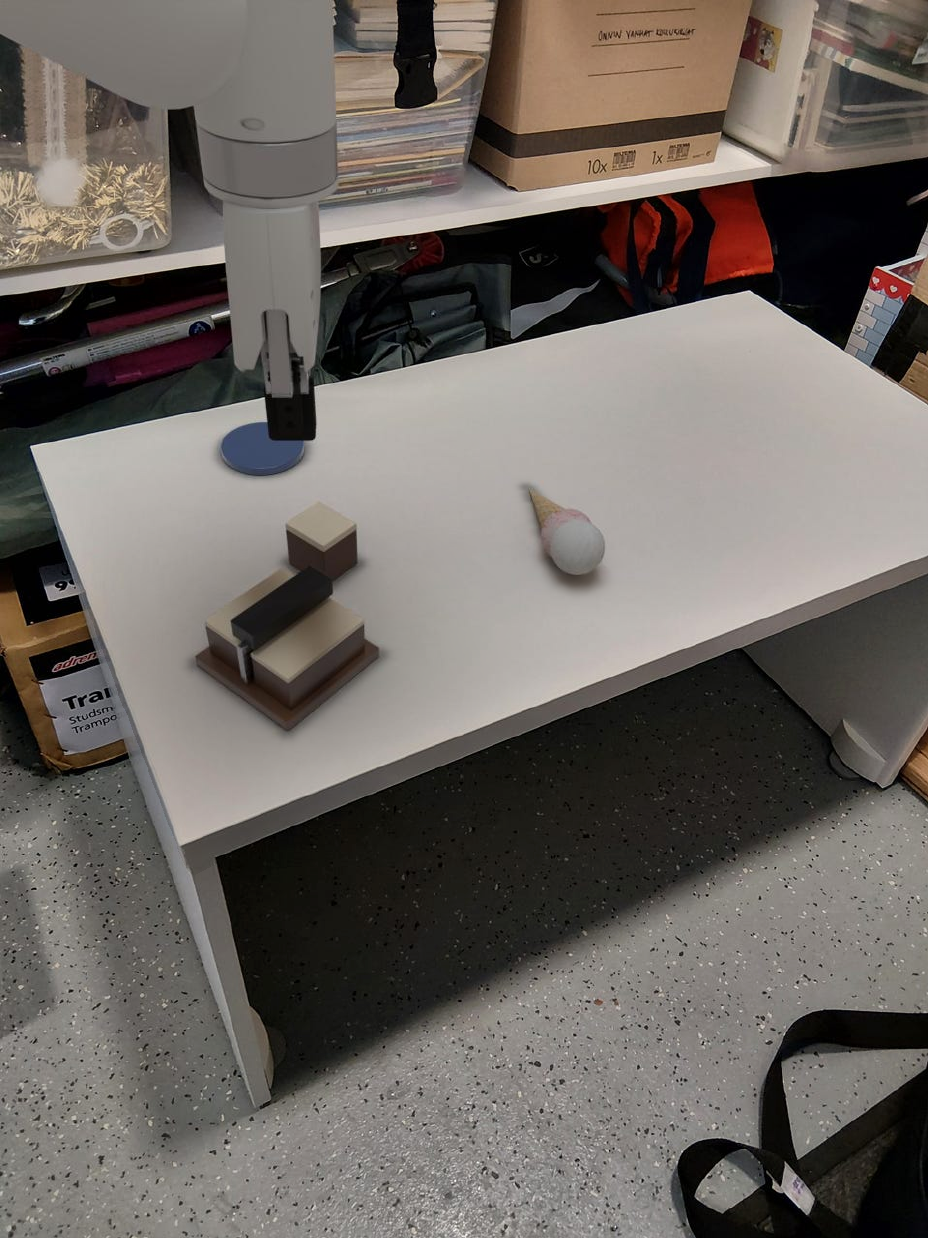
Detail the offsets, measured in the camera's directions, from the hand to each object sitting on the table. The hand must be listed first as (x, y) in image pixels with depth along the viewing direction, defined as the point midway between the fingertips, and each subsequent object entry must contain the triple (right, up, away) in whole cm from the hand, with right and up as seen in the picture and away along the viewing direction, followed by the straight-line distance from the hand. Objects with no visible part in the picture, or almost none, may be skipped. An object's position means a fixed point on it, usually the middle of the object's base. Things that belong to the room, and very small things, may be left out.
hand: (293, 433), depth 65 cm
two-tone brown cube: (0, -8, +16) cm, 18 cm away
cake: (-2, -16, +8) cm, 18 cm away
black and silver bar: (-2, -15, +7) cm, 17 cm away
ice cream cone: (+20, -6, +21) cm, 29 cm away
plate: (-8, +4, +28) cm, 29 cm away
